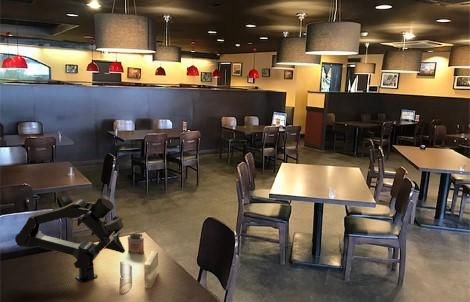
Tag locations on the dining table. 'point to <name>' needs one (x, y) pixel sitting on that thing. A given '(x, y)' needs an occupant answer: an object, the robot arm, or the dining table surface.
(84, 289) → the dining table surface
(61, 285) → the dining table surface
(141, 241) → the brown upright container
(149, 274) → the brown tile
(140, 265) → the dining table surface
